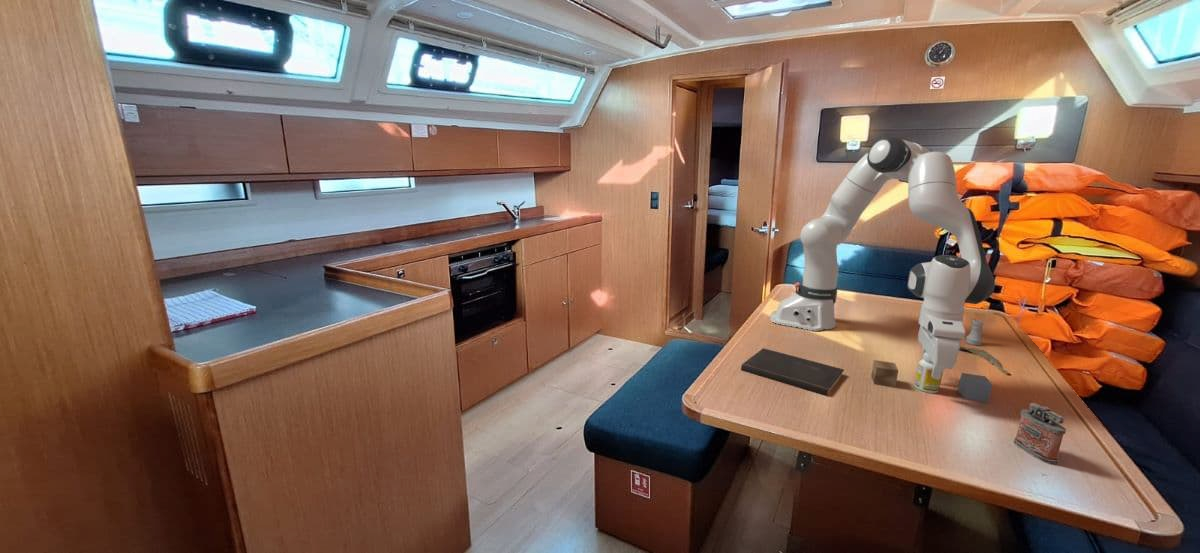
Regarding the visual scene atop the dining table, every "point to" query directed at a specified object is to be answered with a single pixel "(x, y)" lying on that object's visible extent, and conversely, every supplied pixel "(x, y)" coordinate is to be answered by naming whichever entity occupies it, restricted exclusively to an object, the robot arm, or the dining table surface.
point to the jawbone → (986, 357)
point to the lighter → (1040, 433)
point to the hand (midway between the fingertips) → (930, 370)
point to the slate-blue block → (975, 387)
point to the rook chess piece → (975, 333)
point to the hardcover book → (793, 371)
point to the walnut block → (884, 373)
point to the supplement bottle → (926, 376)
